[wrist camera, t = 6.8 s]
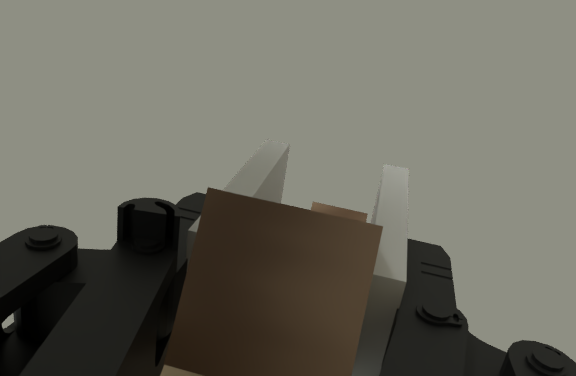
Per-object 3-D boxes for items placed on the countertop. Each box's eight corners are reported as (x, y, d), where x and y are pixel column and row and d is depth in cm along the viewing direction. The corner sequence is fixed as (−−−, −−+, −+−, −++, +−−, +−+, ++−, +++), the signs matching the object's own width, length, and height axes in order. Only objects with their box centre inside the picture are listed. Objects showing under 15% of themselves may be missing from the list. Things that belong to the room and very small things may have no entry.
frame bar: (163, 365, 9) (235, 76, 9) (299, 289, 32) (317, 208, 33) (343, 414, 8) (407, 109, 9) (347, 301, 32) (365, 219, 33)
